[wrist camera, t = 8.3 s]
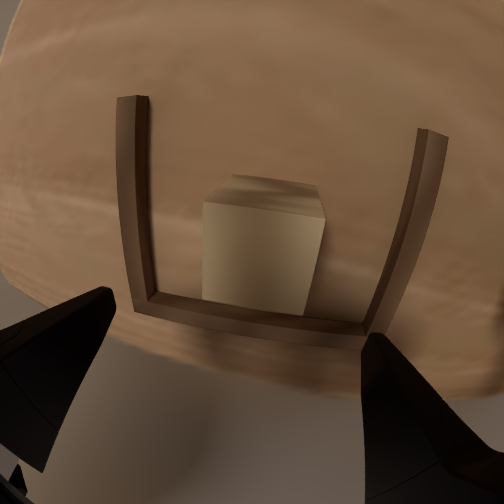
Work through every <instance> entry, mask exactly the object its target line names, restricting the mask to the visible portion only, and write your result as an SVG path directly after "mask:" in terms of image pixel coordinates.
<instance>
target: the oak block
mask: <svg viewBox="0 0 504 504" xmlns="http://www.w3.org/2000/svg"><path fill="white" fill-rule="evenodd" d="M325 220H326V218H325V215H324V212H323V208H322V205H321V202H320V199H319V195H318V192H317V189H316V186H315V185H310V184H304V183H297V182H291V181H284V180H277V179H270V178H262V177H254V176H245V175H236V174H233V175H232V176H231V177H230V178H229V179H228V180H226V181H225V182H224V183H223V184H222V185H221V186H220V187H219V188H218V189H216V190H215V191H214V192H213V193H212V194H211V195H210V196H209V197H208V198H207V199H206V200H205V201H203V228H202V299H204V300H209V301H215V302H220V303H226V304H231V305H237V306H243V307H249V308H255V309H261V310H267V311H274V312H280V313H287V314H294V315H301V316H303V313H304V309H305V306H306V302H307V298H308V294H309V290H310V286H311V282H312V278H313V274H314V270H315V266H316V261H317V257H318V253H319V248H320V244H321V239H322V235H323V230H324V225H325Z"/></svg>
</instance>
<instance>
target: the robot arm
mask: <svg viewBox="0 0 504 504" xmlns="http://www.w3.org/2000/svg"><path fill="white" fill-rule="evenodd" d="M115 312H116V303H115V299H114V294H113V291H112V289H111V288H108V287H104V286H101V287H98V288H96V289H94V290H91V291H89V292H87V293H84V294H82V295H80V296H77V297H75V298H73V299H70V300H68V301H66V302H63V303H61V304H59V305H56V306H54V307H52V308H50V309H47V310H45V311H43V312H41V313H39V314H36V315H34V316H32V317H30V318H27V319H26V320H23V321H21V322H19V323H16V324H14V325H12V326H10V327H7V328H5V329H2V330H0V504H34V503H33V502H32V501H30V500H29V499H28V498H26V497H25V496H26V494H27V492H28V491H27V488H26V485H25V481H24V478H23V474H22V470H21V467H20V465H19V464H18V461H19V459H21V460H23V461H24V462H26V463H27V464H29V465H30V466H32V467H33V468H35V469H36V470H38V471H39V472H41V473H43V471H44V468H45V466H46V463H47V460H48V458H49V455H50V452H51V450H52V447H53V445H54V442H55V440H56V437H57V435H58V432H59V430H60V428H61V425H62V423H63V421H64V418H65V416H66V414H67V412H68V409H69V407H70V405H71V403H72V401H73V399H74V397H75V395H76V393H77V390H78V389H79V386H80V384H81V383H82V381H83V379H84V377H85V374H86V373H87V371H88V369H89V367H90V365H91V363H92V361H93V359H94V357H95V356H96V354H97V352H98V350H99V348H100V346H101V344H102V342H103V340H104V338H105V335H106V333H107V331H108V328H109V326H110V324H111V321H112V319H113V317H114V315H115ZM361 402H362V414H363V428H364V446H365V504H504V453H503V452H498V451H496V450H493V449H492V448H490V447H489V446H488V445H486V444H485V443H484V442H483V441H482V440H481V439H480V438H479V437H478V436H477V435H476V434H475V433H474V432H473V431H472V430H471V429H470V428H469V427H468V426H467V425H466V424H465V423H464V422H463V421H462V420H461V419H460V418H459V417H458V416H457V415H456V413H455V412H454V411H453V410H452V409H451V408H450V407H449V406H448V404H447V403H446V402H445V401H444V400H442V398H441V396H440V395H439V394H438V393H437V392H436V391H435V390H434V388H433V387H432V386H431V385H430V384H429V383H428V382H427V381H426V379H425V378H424V377H423V376H422V375H421V374H420V373H419V372H418V371H417V369H416V368H415V367H414V366H413V365H412V364H411V363H410V362H409V361H408V360H407V359H406V357H405V356H404V355H403V354H402V353H401V352H400V351H399V350H398V349H397V348H396V347H395V346H394V345H393V344H392V342H391V341H390V340H389V339H388V338H387V337H386V336H385V335H384V334H383V333H379V332H371V333H370V334H369V336H368V338H367V340H366V342H365V344H364V346H363V348H362V351H361Z"/></svg>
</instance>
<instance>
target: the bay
mask: <svg viewBox="0 0 504 504" xmlns="http://www.w3.org/2000/svg"><path fill="white" fill-rule="evenodd" d="M147 110H148V96H140V95H134V96H126V97H119V98H117V107H116V176H117V193H118V206H119V217H120V227H121V235H122V243H123V250H124V257H125V264H126V270H127V276H128V282H129V287H130V292H131V297H132V302H133V307H134V312H137V313H141V314H145V315H149V316H153V317H157V318H161V319H165V320H169V321H173V322H178V323H182V324H187V325H191V326H196V327H200V328H205V329H210V330H215V331H220V332H226V333H231V334H237V335H242V336H248V337H254V338H261V339H267V340H274V341H281V342H288V343H296V344H304V345H313V346H322V347H332V348H343V349H356V350H362V348H363V346H364V344H365V342H366V340H367V338H368V336H369V334H370V333H371V332H379V333H383V334H385V332H386V330H387V328H388V326H389V324H390V322H391V320H392V318H393V316H394V314H395V312H396V309H397V307H398V305H399V303H400V301H401V298H402V296H403V294H404V291H405V289H406V287H407V284H408V282H409V279H410V277H411V274H412V272H413V269H414V267H415V264H416V261H417V259H418V256H419V253H420V250H421V247H422V244H423V241H424V238H425V235H426V232H427V229H428V226H429V222H430V219H431V216H432V212H433V209H434V205H435V201H436V197H437V193H438V189H439V185H440V181H441V176H442V172H443V167H444V162H445V156H446V151H447V145H448V139H449V137H447V136H444V135H442V134H439V133H436V132H434V131H431V130H428V129H420V128H418V133H417V140H416V146H415V152H414V157H413V162H412V168H411V173H410V177H409V182H408V186H407V191H406V195H405V199H404V203H403V207H402V211H401V215H400V218H399V222H398V225H397V229H396V232H395V236H394V239H393V242H392V245H391V249H390V252H389V255H388V258H387V261H386V264H385V267H384V270H383V272H382V275H381V278H380V281H379V284H378V286H377V289H376V291H375V294H374V297H373V299H372V302H371V304H370V307H369V309H368V312H367V314H366V316H365V319H364V321H363V323H362V324H361V323H351V322H342V321H333V320H324V319H316V318H308V317H300V316H293V315H286V314H279V313H272V312H266V311H259V310H253V309H247V308H241V307H235V306H229V305H223V304H218V303H212V302H207V301H202V300H197V299H192V298H186V297H182V296H177V295H172V294H167V293H162V292H158V291H155V286H154V278H153V269H152V260H151V250H150V238H149V225H148V208H147V182H146V136H147Z"/></svg>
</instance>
